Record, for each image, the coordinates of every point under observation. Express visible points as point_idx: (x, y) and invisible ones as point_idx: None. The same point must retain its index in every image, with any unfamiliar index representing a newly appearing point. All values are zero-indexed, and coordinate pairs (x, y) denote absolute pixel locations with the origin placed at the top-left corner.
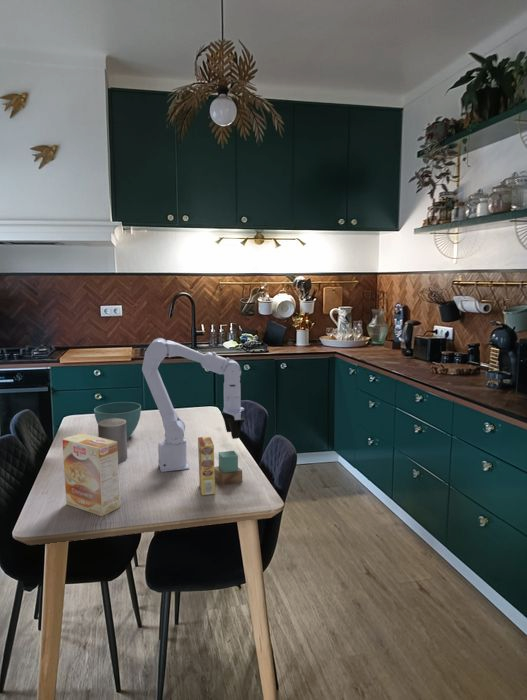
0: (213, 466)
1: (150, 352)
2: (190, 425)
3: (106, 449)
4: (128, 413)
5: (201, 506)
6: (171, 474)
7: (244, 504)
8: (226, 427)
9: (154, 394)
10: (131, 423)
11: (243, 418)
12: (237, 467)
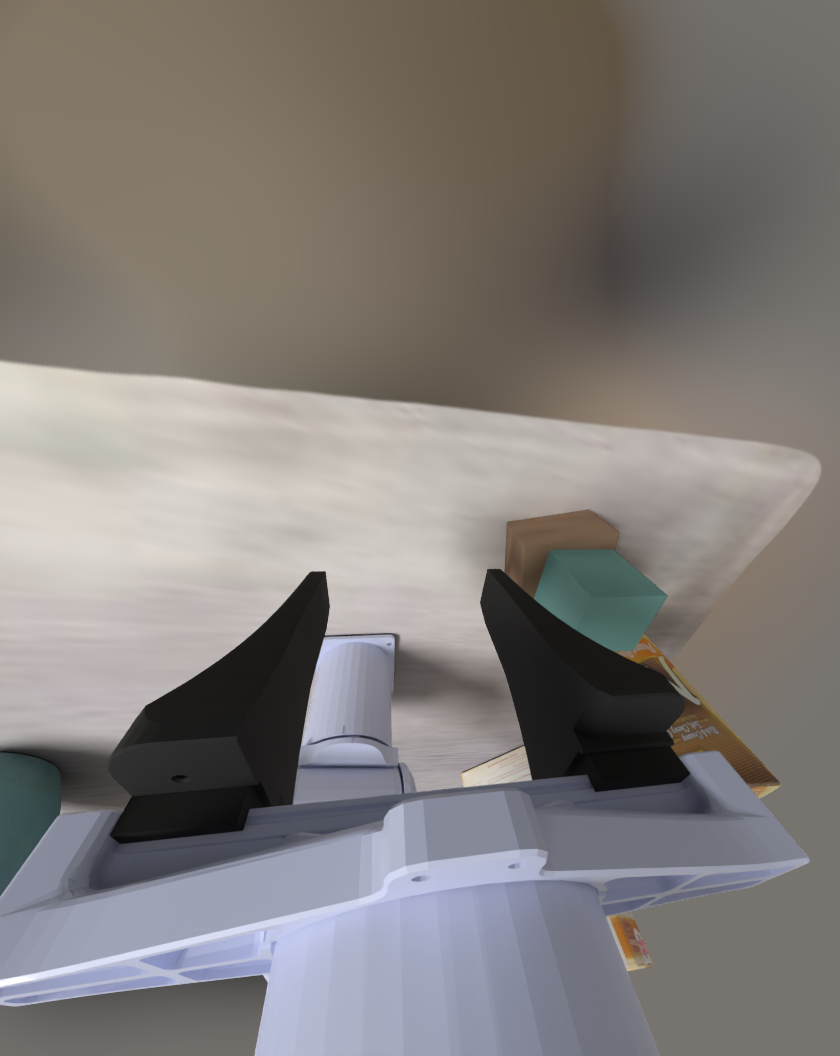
0: (687, 683)
1: None
2: None
3: (640, 946)
4: None
5: (647, 633)
6: (417, 671)
7: (727, 547)
8: (321, 642)
9: None
10: None
11: (640, 700)
12: (622, 560)
